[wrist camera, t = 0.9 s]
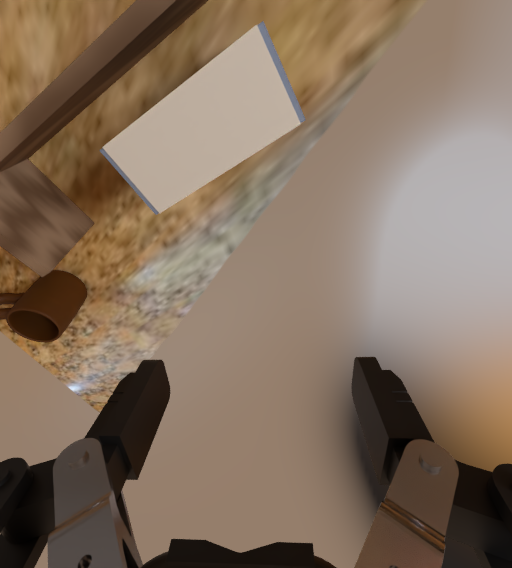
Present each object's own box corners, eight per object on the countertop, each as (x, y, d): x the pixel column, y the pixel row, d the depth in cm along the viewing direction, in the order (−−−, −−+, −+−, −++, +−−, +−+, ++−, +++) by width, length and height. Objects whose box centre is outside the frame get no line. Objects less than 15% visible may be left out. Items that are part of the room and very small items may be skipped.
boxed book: (155, 112, 34) (98, 150, 22) (258, 31, 30) (262, 19, 17) (188, 159, 37) (155, 215, 25) (286, 92, 33) (306, 120, 20)
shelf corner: (4, 158, 37) (-79, 196, 28) (207, -28, 27) (183, -67, 18) (83, 230, 44) (36, 280, 34) (270, 103, 33) (277, 124, 24)
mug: (17, 292, 51) (-22, 332, 44) (7, 257, 47) (-39, 296, 39) (90, 306, 53) (64, 347, 46) (87, 274, 49) (58, 314, 41)
